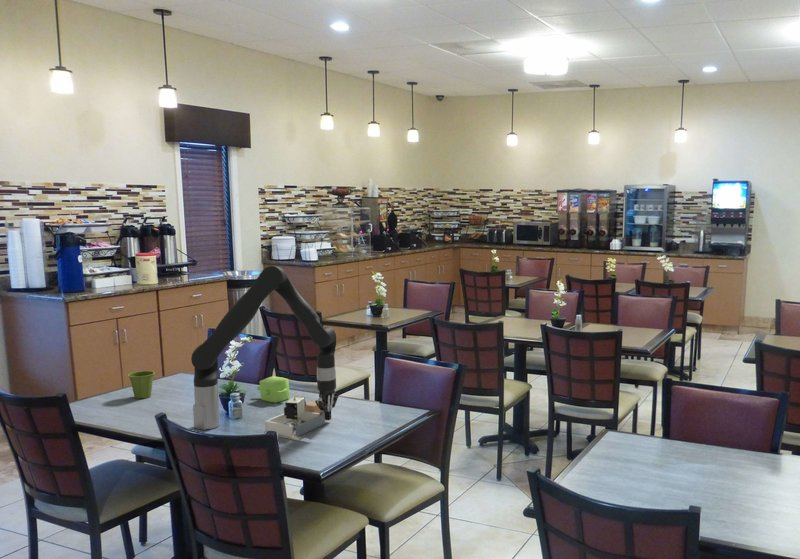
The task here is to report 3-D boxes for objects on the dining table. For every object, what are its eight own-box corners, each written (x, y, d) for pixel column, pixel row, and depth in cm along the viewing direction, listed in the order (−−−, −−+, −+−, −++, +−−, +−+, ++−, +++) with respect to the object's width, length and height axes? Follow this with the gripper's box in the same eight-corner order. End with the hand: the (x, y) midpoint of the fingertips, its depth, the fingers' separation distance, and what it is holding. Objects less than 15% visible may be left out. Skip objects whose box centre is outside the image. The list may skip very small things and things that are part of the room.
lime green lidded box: (251, 399, 315) (249, 379, 314) (267, 394, 323) (266, 374, 322) (278, 405, 304) (276, 384, 303) (294, 399, 312) (292, 379, 311)
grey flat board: (297, 436, 258) (297, 423, 257) (295, 436, 259) (295, 423, 258) (325, 424, 272) (325, 411, 272) (323, 423, 273) (322, 411, 273)
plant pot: (161, 394, 326) (159, 371, 324) (146, 401, 314) (145, 377, 313) (139, 393, 328) (137, 370, 327) (123, 400, 317) (122, 376, 316)
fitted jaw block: (314, 420, 277) (314, 406, 277) (305, 418, 280) (304, 404, 279) (322, 417, 281) (321, 403, 281) (312, 415, 284) (312, 401, 283)
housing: (298, 440, 258) (297, 427, 257) (265, 433, 266) (264, 421, 266) (339, 421, 280) (338, 409, 279) (307, 415, 288) (306, 403, 288)
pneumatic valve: (307, 422, 275) (306, 393, 274) (296, 432, 264) (295, 401, 262) (294, 421, 276) (293, 392, 275) (282, 431, 265) (281, 401, 264)
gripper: (328, 372, 281) (330, 413, 283) (308, 380, 269) (310, 423, 271) (343, 374, 277) (345, 416, 279) (323, 382, 265) (325, 425, 267)
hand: (327, 419), depth 275 cm, fingers closed
